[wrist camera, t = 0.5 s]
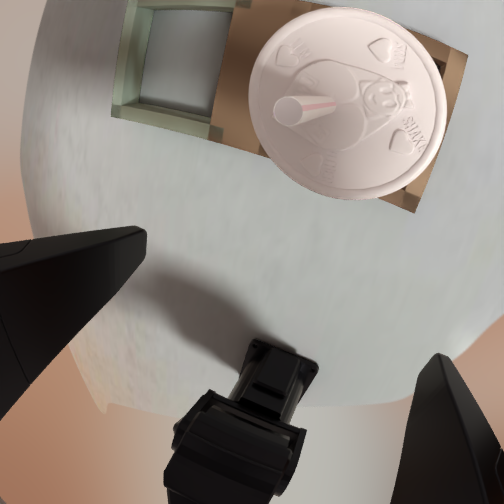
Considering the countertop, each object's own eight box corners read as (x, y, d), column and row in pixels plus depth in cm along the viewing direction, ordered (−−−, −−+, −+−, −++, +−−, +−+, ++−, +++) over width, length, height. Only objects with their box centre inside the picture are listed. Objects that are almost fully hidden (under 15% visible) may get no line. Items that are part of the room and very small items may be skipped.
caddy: (411, 202, 18) (414, 213, 16) (128, 113, 23) (110, 116, 21) (459, 58, 13) (468, 54, 11) (146, -1, 17) (129, -5, 16)
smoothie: (298, 59, 17) (136, 14, 5) (402, 42, 14) (439, -71, 2) (322, 159, 19) (211, 275, 8) (424, 148, 16) (501, 261, 5)
